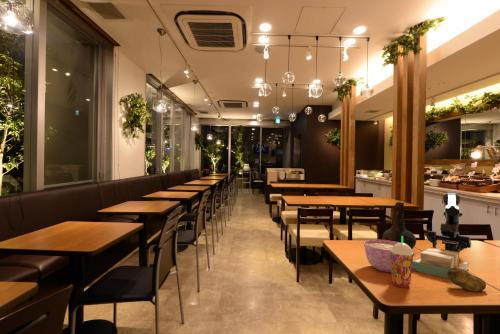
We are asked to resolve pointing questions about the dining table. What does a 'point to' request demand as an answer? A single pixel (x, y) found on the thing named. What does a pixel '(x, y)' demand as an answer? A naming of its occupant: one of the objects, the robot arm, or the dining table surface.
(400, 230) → the glass bottle
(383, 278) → the dining table surface
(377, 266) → the bowl of food
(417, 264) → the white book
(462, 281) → the potato
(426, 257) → the metallic block
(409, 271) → the smoothie
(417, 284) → the dining table surface
